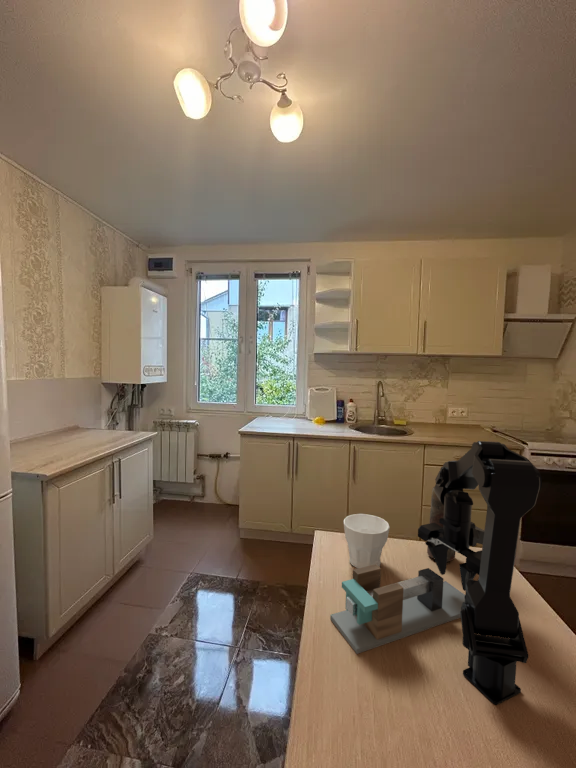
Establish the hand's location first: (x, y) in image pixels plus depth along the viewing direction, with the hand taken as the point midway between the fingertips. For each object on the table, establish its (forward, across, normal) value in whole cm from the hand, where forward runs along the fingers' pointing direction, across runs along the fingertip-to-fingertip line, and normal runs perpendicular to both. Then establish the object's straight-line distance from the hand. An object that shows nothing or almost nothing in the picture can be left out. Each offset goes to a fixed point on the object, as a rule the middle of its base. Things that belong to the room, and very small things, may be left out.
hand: (453, 581), depth 84 cm
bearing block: (+4, 0, +22) cm, 22 cm away
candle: (+5, +15, -12) cm, 20 cm away
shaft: (+4, 0, +7) cm, 8 cm away
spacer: (+1, 0, +26) cm, 27 cm away
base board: (+4, 0, +14) cm, 14 cm away
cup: (+5, +21, +10) cm, 24 cm away
